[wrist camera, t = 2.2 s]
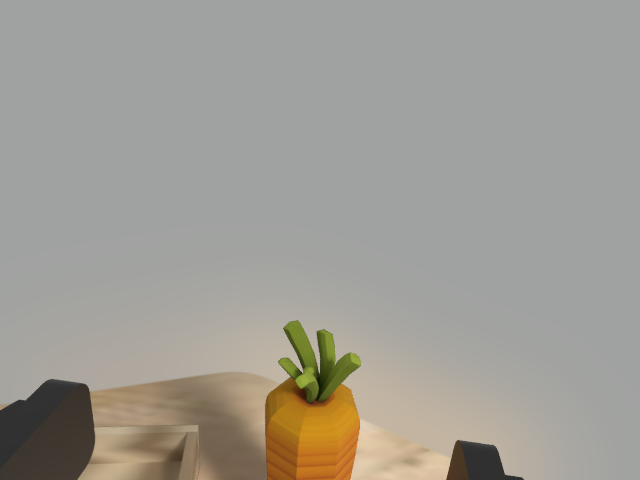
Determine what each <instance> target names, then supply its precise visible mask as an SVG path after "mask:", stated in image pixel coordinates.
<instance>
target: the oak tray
mask: <svg viewBox="0 0 640 480" xmlns="http://www.w3.org/2000/svg"><path fill="white" fill-rule="evenodd" d="M94 430H95V446H94V450H93V454H92V456H91V459H90V461H89V463H88V465H87V467H86V468H85V470H84V471H83V473H82V474H81V475H80V477H79V478H78V480H198V473H199V467H200V455H199V428H198V425H174V426H136V427H98V428H94Z"/></svg>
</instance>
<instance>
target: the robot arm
mask: <svg viewBox="0 0 640 480" xmlns="http://www.w3.org/2000/svg"><path fill="white" fill-rule="evenodd" d="M94 446H95V430H94V422H93V414H92V407H91V399H90V391H89V388H88V386H87V385H85V384H82V383H76V382H69V381H62V380H55V379H50V380H48V381H46V382H45V383H43V384H42V385H41V386H40V387H39V388H38V389H37V390H36V391H35V392H34V393H33V394H32V395H31V396H30V397H29V398H28V399H27V400H26V401H24V400H18V401H16V402H14V403H12V404H11V405H9V406H7V407H5V408H4V409H2V410H0V480H78V478H79V477H80V475H81V474H82V473H83V471H84V470H85V468H86V467H87V465H88V463H89V461H90V459H91V456H92V454H93V450H94ZM446 480H524V479H523V478H521V477H515V476H508V475H505V474H504V470H503V467H502V463H501V460H500V456H499V453H498V450H497V448H496V447H495V446H494V445H487V444H481V443H474V442H467V441H460V440H457V441H456V443H455V446H454V450H453V454H452V458H451V462H450V467H449V471H448V475H447V479H446Z"/></svg>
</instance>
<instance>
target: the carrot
mask: <svg viewBox="0 0 640 480" xmlns="http://www.w3.org/2000/svg"><path fill="white" fill-rule="evenodd" d="M283 329H284V331H285V333H286V335H287V337H288V339H289V341H290V343H291V344H292V346H293V348H294V350H295V351H296V353H297V356H298V358H299V360H300V363H301V365H302V368H303V372H304V374H303V373H302V372H301V371H300V370H299V369H298V368H297V367H296V365H295V364H294V363H293V362H292V361H291V360H290V359H289V358H281V359H280V360H279V361H278V363H279V364H280V365H281V366H282V367H283V368H284V370H285V371H286V372H287V373H288V374H289V375H290V376H291V377H290V378H289V379H287V380H286V381H285V382H284V383H282V384H281V385H279V386H278V387H277V388H275V389H274V390H273V391H271V392H270V393H269V394H268V396H267V399H266V404H265V436H266V462H267V480H350V478H351V473H352V468H353V464H354V459H355V454H356V448H357V441H358V435H359V429H360V420H359V416H358V412H357V408H356V405H355V402H354V399H353V395H352V392H351V390H350V389H349V388H348V387H346V386H344V385H342V384H341V383H342V382H343V381H344V380H345V379H346V377H348V375H349V374H351V373H352V372H354V371H355V370H356V369H357V368H359V367H360V366H361V361H360V358H359V356H357V355H356V354H354V353H348V354H346V355H344V356H343V357H342V358H341V359H340V360H339V361H338V362H337V363H336V365H335V346H334V340H333V335H332V334H331V333H330V332H328V331H326V330H324V329H323V330H320V331H317V338H318V346H319V352H320V374H319V372H318V366H317V362H316V358H315V354H314V351H313V349H312V347H311V344H310V342H309V340H308V337H307V335H306V333H305V331H304V329H303V328H302V326H301V324H300V322H299V321H292V322H289V323H288V324H287V325H286V326H285V327H284V328H283Z"/></svg>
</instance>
